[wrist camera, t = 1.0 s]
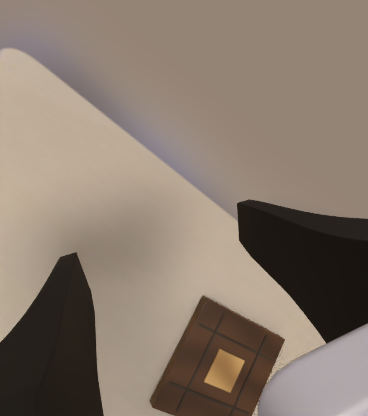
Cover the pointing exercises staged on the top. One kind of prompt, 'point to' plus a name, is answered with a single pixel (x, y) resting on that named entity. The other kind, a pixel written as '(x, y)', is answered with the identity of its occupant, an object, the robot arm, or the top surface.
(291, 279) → the robot arm
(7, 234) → the top surface
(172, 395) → the board
